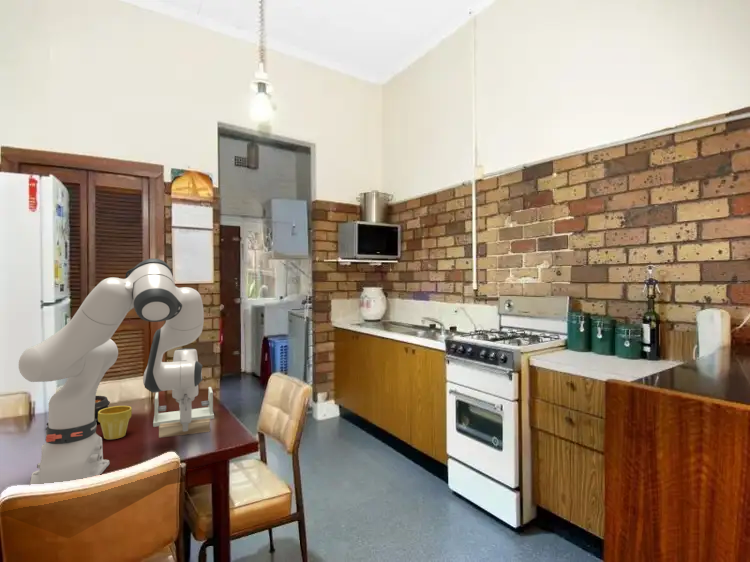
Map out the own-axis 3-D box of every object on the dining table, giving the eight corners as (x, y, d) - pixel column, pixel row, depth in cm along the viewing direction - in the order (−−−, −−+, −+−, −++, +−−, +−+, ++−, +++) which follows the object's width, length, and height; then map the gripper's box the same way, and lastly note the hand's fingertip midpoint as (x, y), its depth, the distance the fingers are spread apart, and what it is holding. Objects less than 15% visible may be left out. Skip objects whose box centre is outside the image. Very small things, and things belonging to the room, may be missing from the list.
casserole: (66, 435, 149) (66, 412, 149) (34, 428, 156) (35, 406, 156) (130, 414, 172) (130, 395, 172) (100, 409, 179) (100, 390, 179)
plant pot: (121, 429, 155) (122, 403, 155) (137, 434, 150) (137, 407, 150) (91, 438, 146) (92, 411, 146) (107, 444, 141) (107, 415, 141)
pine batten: (209, 432, 153) (209, 421, 153) (158, 438, 147) (158, 427, 147) (209, 428, 157) (209, 418, 157) (160, 434, 151) (160, 423, 151)
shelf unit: (213, 418, 168) (214, 393, 168) (153, 426, 158) (153, 399, 158) (211, 410, 178) (211, 386, 178) (154, 417, 169) (154, 392, 169)
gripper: (195, 397, 144) (195, 436, 144) (193, 384, 162) (193, 418, 162) (176, 399, 141) (175, 439, 141) (175, 385, 160) (175, 421, 160)
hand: (185, 428), depth 152 cm, fingers open, 4 cm apart
